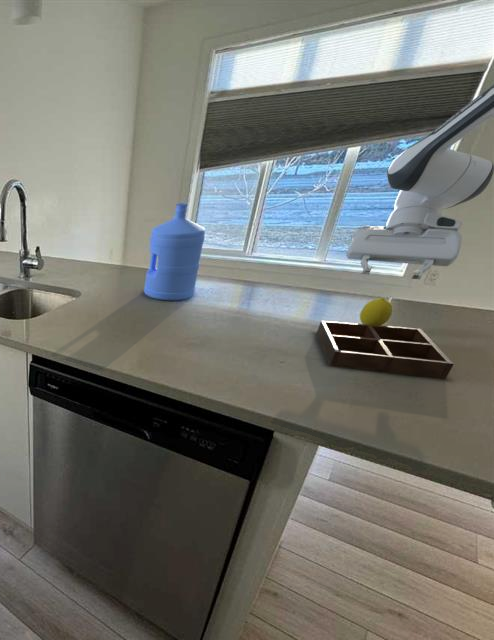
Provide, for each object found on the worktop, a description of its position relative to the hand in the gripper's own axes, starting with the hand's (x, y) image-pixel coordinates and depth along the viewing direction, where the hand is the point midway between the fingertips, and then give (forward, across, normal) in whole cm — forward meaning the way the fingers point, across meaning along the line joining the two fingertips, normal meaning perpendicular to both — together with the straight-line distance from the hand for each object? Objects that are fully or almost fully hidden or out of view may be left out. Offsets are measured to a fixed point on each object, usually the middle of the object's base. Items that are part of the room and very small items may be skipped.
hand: (390, 275), depth 102 cm
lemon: (+14, 0, +2) cm, 14 cm away
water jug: (+12, -52, +5) cm, 53 cm away
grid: (+25, +2, -9) cm, 27 cm away
